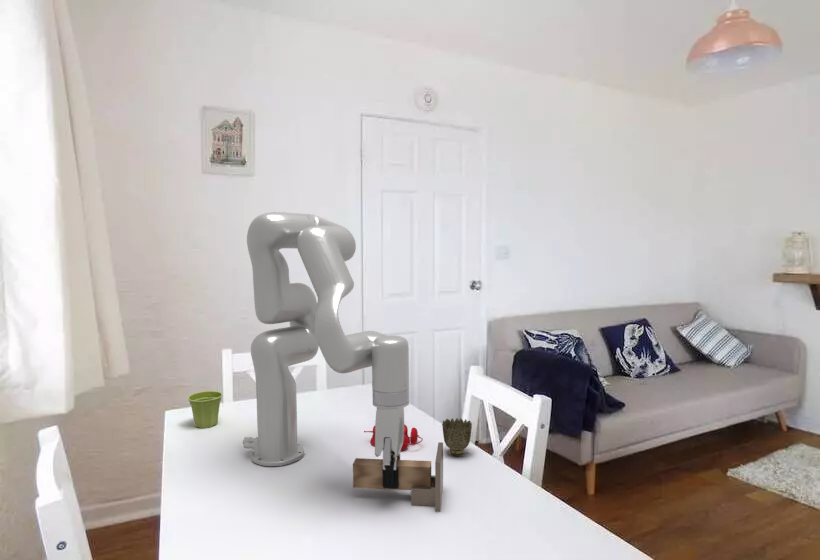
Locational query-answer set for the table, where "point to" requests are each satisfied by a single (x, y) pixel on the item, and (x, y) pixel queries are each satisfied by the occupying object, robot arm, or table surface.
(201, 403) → the plant pot
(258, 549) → the table surface
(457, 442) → the cup
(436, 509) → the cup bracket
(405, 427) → the alarm clock
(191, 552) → the table surface
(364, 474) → the walnut rail
